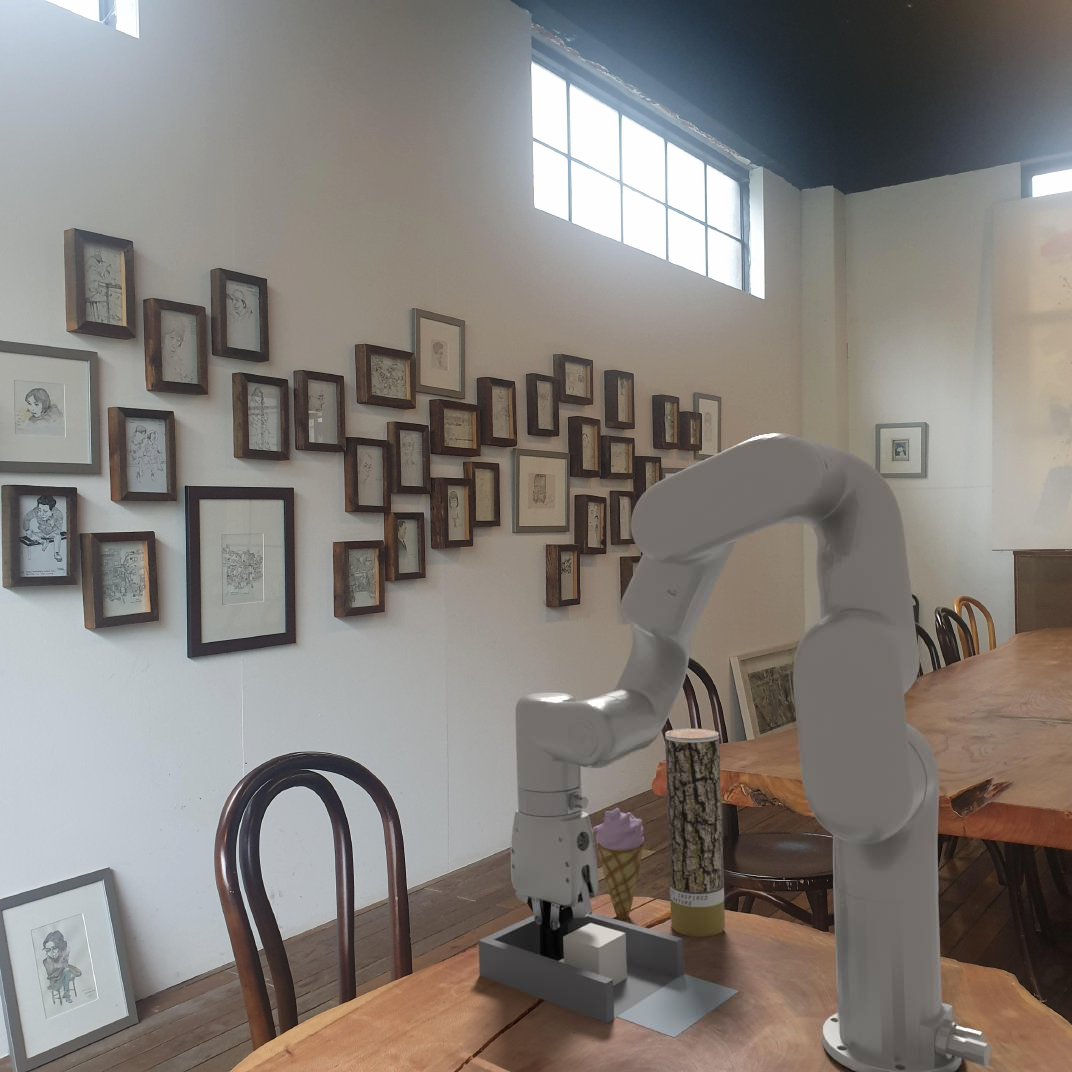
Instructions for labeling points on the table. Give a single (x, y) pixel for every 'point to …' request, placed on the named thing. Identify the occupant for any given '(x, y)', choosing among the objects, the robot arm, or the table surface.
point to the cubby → (642, 998)
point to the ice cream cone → (620, 857)
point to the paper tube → (695, 832)
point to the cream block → (597, 951)
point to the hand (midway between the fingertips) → (554, 958)
